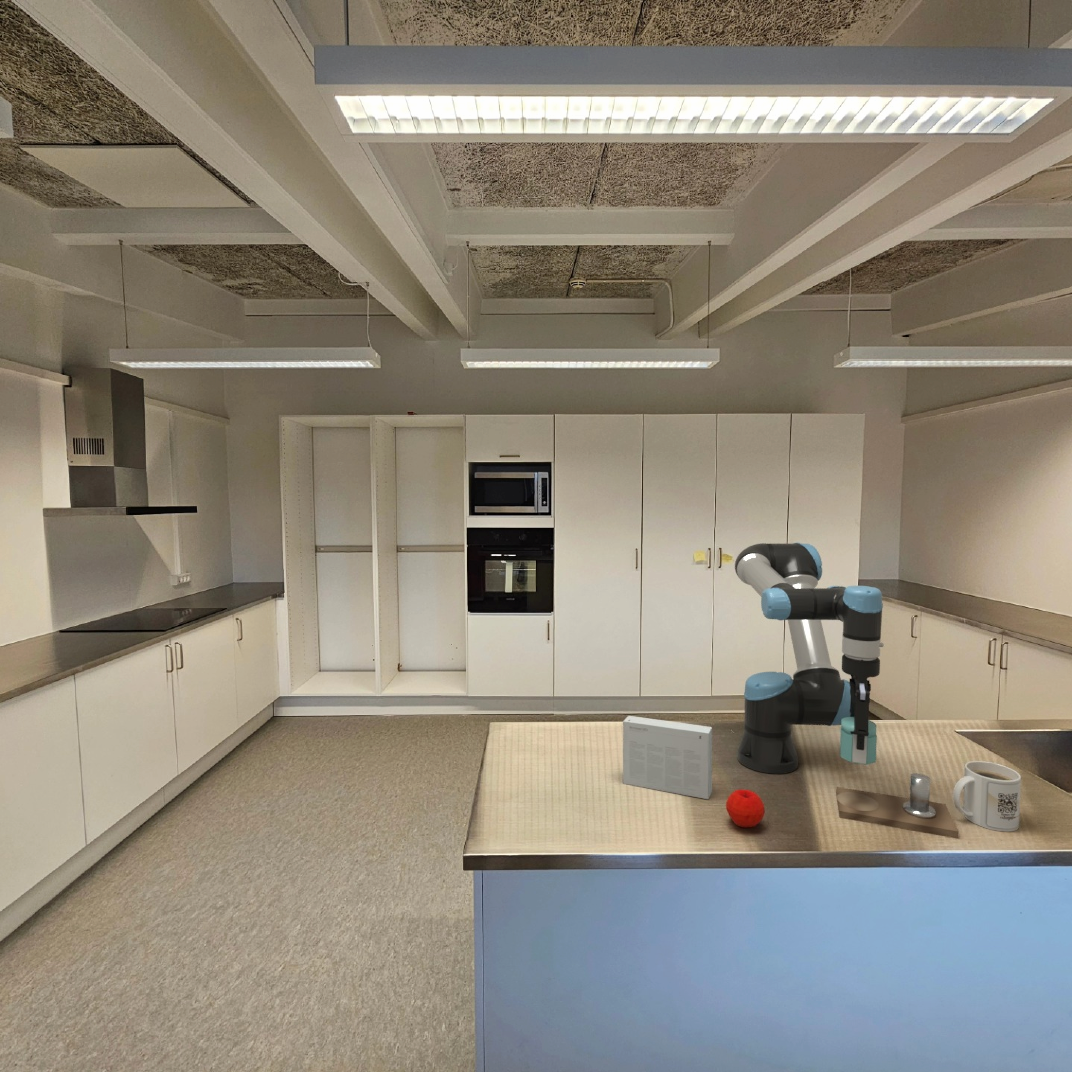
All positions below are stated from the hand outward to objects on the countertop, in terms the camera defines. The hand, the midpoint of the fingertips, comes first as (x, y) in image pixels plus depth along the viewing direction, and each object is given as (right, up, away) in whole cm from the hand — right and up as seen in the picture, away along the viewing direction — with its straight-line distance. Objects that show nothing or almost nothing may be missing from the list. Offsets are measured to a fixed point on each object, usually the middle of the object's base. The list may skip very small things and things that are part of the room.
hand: (857, 754), depth 138 cm
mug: (+25, -12, -5) cm, 28 cm away
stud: (+11, -11, -5) cm, 16 cm away
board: (+7, -12, -2) cm, 14 cm away
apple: (-28, -13, -6) cm, 31 cm away
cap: (0, -1, 0) cm, 1 cm away
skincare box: (-41, -12, +11) cm, 44 cm away
